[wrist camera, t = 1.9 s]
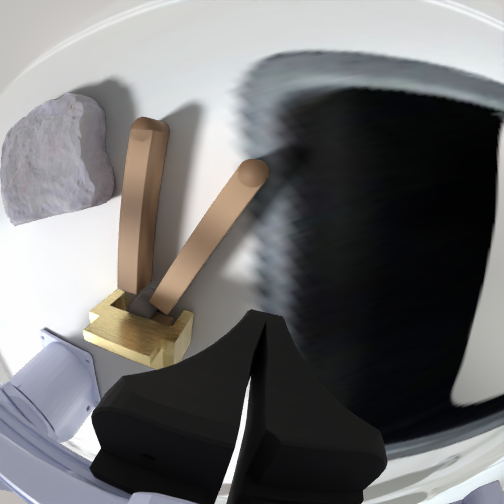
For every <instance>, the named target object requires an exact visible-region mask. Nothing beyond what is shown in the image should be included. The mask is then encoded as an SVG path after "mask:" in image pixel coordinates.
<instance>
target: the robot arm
mask: <svg viewBox="0 0 504 504" xmlns="http://www.w3.org/2000/svg"><path fill="white" fill-rule="evenodd" d="M39 332H40V337H41V341H42V345H43V348H44V349H43V350H41V351H40V352H39V353H38V354H37V355H36V356H35V357H34V358H33V359H31V360H30V361H29V362H28V363H27V364H26V365H25V366H24V367H23V368H22V369H20V370H19V371H18V372H17V373H16V374H15V375H14V376H13V377H12V378H11V379H10V380H9V381H8V382H6V383H5V384H3V385H2V383H1V381H0V489H1V490H6V491H10V492H15V493H16V494H17V495H18V496H19V497H21V498H22V499H23V500H24V501H26V502H27V503H28V504H214V503H215V501H216V498H217V495H218V492H219V491H220V488H221V485H222V483H223V480H224V477H225V474H226V471H227V469H228V466H229V463H230V460H231V457H232V454H233V451H234V448H235V445H236V440H237V436H238V431H239V427H240V421H241V415H242V409H243V404H244V398H245V393H246V388H247V385H248V382H249V379H250V376H251V381H250V390H249V400H248V409H247V419H246V425H245V431H244V435H243V440H242V444H241V448H240V452H239V457H238V461H237V465H236V469H235V473H234V477H233V481H232V485H231V489H230V492H229V496H228V500H227V503H226V504H361V503H362V502H363V490H364V489H365V488H366V487H368V486H369V485H370V484H371V483H372V482H373V481H374V480H376V479H377V478H378V477H379V476H380V475H381V473H382V472H383V471H384V470H385V469H386V466H387V463H388V462H387V457H386V451H385V446H384V442H383V439H382V436H381V433H380V431H379V430H377V429H376V428H374V427H373V426H371V425H369V424H368V423H366V422H365V421H363V420H362V419H360V418H359V417H357V416H356V415H354V414H353V413H352V412H351V411H349V410H348V409H347V408H346V407H344V406H343V405H342V404H341V403H340V402H339V401H338V400H336V399H335V398H334V397H333V396H332V395H331V394H330V393H329V392H328V391H327V390H326V389H325V388H324V386H323V385H322V384H321V383H320V382H319V381H318V380H317V378H316V377H315V376H314V374H313V373H312V372H311V371H310V369H309V368H308V366H307V365H306V363H305V362H304V360H303V358H302V357H301V355H300V353H299V351H298V350H297V348H296V346H295V344H294V342H293V340H292V338H291V335H290V333H289V331H288V328H287V326H286V323H285V320H284V318H283V317H282V316H278V315H273V314H269V313H265V312H260V311H256V310H252V309H251V310H249V311H248V312H247V313H246V315H245V316H244V317H243V318H242V320H241V321H240V322H239V323H238V324H237V325H236V326H235V327H234V328H232V329H231V330H230V331H229V332H228V333H227V334H226V335H224V336H223V337H222V338H221V339H219V340H218V341H217V342H215V343H214V344H212V345H211V346H209V347H208V348H206V349H205V350H203V351H201V352H200V353H198V354H196V355H194V356H192V357H190V358H188V359H186V360H183V361H181V362H179V363H176V364H173V365H171V366H168V367H164V368H161V369H158V370H154V371H149V372H144V373H139V374H133V375H127V376H122V377H121V378H120V379H119V380H118V381H117V382H116V383H115V384H114V385H113V386H112V387H111V388H110V389H109V390H108V392H107V393H106V394H105V395H104V397H103V398H102V400H101V399H100V394H99V390H98V385H97V381H96V376H95V371H94V365H93V360H92V356H91V355H90V354H89V353H88V352H86V351H83V350H81V349H79V348H77V347H75V346H73V345H71V344H69V343H67V342H65V341H64V340H62V339H60V338H58V337H56V336H54V335H52V334H50V333H49V332H47V331H45V330H43V329H41V330H40V331H39ZM1 385H2V386H1ZM94 407H95V409H94ZM93 409H94V410H93ZM92 410H93V413H92V415H91V418H92V424H93V427H94V430H95V433H96V435H97V438H98V441H99V443H100V446H101V449H100V451H99V453H98V454H97V456H96V457H95V459H94V461H93V462H91V461H89V460H87V459H86V458H84V457H82V456H80V455H79V454H77V453H75V452H73V451H72V450H70V449H68V448H67V447H65V446H63V445H62V444H60V443H61V442H65V441H68V440H69V439H71V438H72V437H73V436H74V435H75V434H76V432H77V431H78V429H79V428H80V427H81V425H82V424H83V423H84V421H85V420H86V418H87V417H88V416H89V414H90V413H91V412H92ZM449 504H504V493H503V490H502V487H501V485H500V482H499V480H496V481H494V482H491V483H489V484H486V485H483V486H481V487H479V488H477V489H475V490H474V491H472V492H471V493H469V494H468V495H467V496H466V497H464V499H463V500H459V501H456V502H453V503H449Z"/></svg>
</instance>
